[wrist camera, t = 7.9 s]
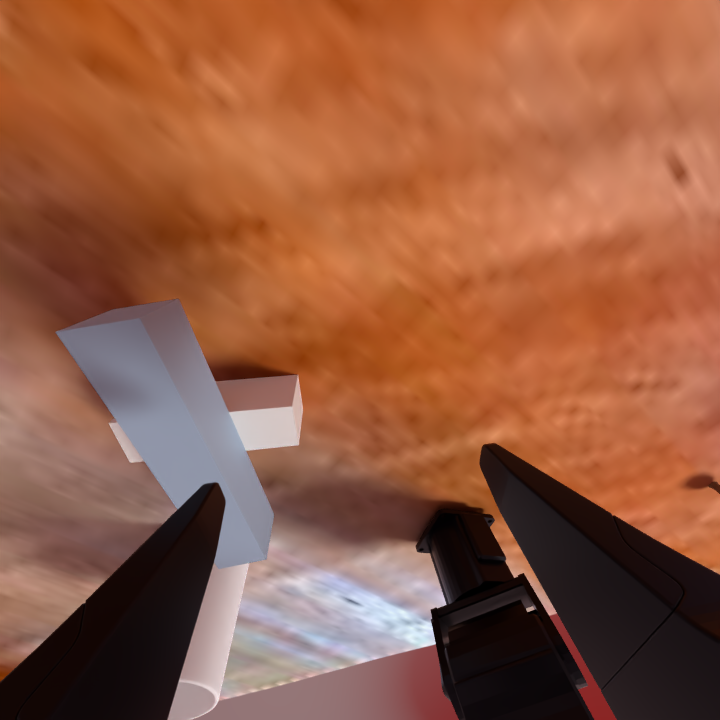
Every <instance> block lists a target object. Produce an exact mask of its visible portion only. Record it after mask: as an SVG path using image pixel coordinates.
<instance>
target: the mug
mask: <svg viewBox="0 0 720 720" xmlns="http://www.w3.org/2000/svg"><path fill="white" fill-rule="evenodd" d="M248 566H249V563H246V564H242V565H237V566H232V567H227V568H222V569H218V568H217V566H216V565H215V563H214V564H213V568H212V571H211V574H210V578H209V581H208V584H207V588H206V591H205V595H204V598H203V601H202V605H201V608H200V611H199V615H198V618H197V622H196V625H195V628H194V632H193V635H192V638H191V642H190V645H189V649H188V652H187V655H186V659H185V662H184V665H183V669H182V672H181V676H180V679H179V682H178V686H177V689H176V692H175V696H174V699H173V703H172V706H171V709H170V713H169V716H168V719H167V720H192V719H195V718H197V717H200V716H202V715H204V714H206V713H207V712H209V711H210V710H212V709H213V708H214V707H215V706H216V704H217V703H218V701H219V696H220V692H221V687H222V683H223V678H224V674H225V669H226V665H227V660H228V656H229V651H230V647H231V642H232V638H233V633H234V629H235V624H236V620H237V615H238V611H239V606H240V602H241V597H242V593H243V588H244V584H245V579H246V575H247V570H248Z"/></svg>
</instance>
